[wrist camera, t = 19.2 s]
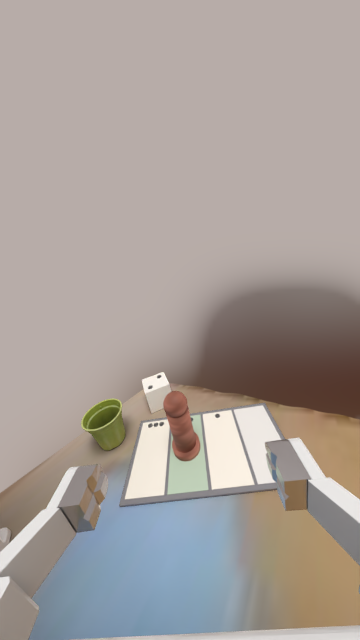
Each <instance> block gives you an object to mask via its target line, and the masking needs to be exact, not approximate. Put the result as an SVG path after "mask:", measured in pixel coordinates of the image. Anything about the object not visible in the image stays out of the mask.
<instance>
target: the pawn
mask: <svg viewBox="0 0 360 640" xmlns="http://www.w3.org/2000/svg"><path fill="white" fill-rule="evenodd" d="M163 407H164V410H165V412H166V416H167V419H168V422H169V426H170V429H171V433H172V436H173V441H172V448H173V451H174V454H175V456H176V458H177V459H179V460H181V461H191V460H193V459H194V458H195V457H196V456H197V455H198V454H199V451H200V441H199V437H198V435H197V434H196V433H195V432H194V430H193V426H192V421H191V417H190V413H189V409H188V406H187V399H186V397H185V396H184V394H183V393H181V392H179V391H172V392H170V393H168V394H167V395H166V397H165V399H164V402H163Z"/></svg>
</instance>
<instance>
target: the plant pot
mask: <svg viewBox="0 0 360 640" xmlns="http://www.w3.org/2000/svg"><path fill="white" fill-rule="evenodd" d="M121 413H122V403H121V401H120V400H118V399H107V400H104V401H101V402H99V403H98V404H96V405H94V406H93V407H92V408H90V409H89V410H88V411H87V413H86V414H85V415H84V417H83V419H82V421H81V426H82V428H83V429H84V430H85V431H88V432H89V433H91V434H92V436H93V437H94V438H95V440H96V441H97V442H98V444H99V445H100V446H101V447H102V449H104V450H111V449H113V448H115V447H117V446H119V445H120V444H121V443H122V441H123V440H124V438H125V429H124V424H123V419H122V414H121Z"/></svg>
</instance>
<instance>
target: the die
mask: <svg viewBox="0 0 360 640" xmlns="http://www.w3.org/2000/svg"><path fill="white" fill-rule="evenodd" d="M142 383H143V387H144V391H145V395H146V398H147V401H148V404H149V407H150V410H151V414H152V413H154V412H156V411H159V410H161V409H163V408H164V407H163V402H164V399H165V397H166V395H167V394H168V393H170V392H171V389H170V385H169V383H168V380H167V378H166V376H165V374H164V372H162V373H159V374H157V375H154V376H151V377H148V378H146V379H143V380H142Z"/></svg>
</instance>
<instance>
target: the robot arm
mask: <svg viewBox="0 0 360 640" xmlns="http://www.w3.org/2000/svg"><path fill="white" fill-rule="evenodd" d="M265 448H266V451H267V453H266V460H267V464H268V468H269V471H270V474H271V476H272V479H273V480H274V481H275V482H276V483H277V490H278V494H279V496H280V498H281V501H282V503H283V506H284V508H285V511H292V510H307V509H308V512H309V513H310V514H311V515H312V516H313V517H314V518H315V519H316V520H317V521H318V522H319V523H320V524H321V526H322V527H323V528H324V529H325V530H326V531H327V532H328V533H329V534H330V535H331V536H332V537H333V538H334V539H335V540H336V541H337V542H338V543H339V544H340V545H341V547H342V548H343V549H344V550H345V551H346V552H347V553H348V554H349V555H350V556H351V557H352V558H353V559H354V560H355V561H356V562H357V563H358V564H359V565H360V499H358V498H357V497H356V496H354V495H353V494H352V493H350V492H349V491H348V490H346V489H345V488H343V487H342V486H341V485H339V484H338V483H337V482H335V481H334V480H333V479H331V478H326V477H325V475H324V474H323V472H322V471H321V469H320V468H319V466H318V465H317V463H316V462H315V460H314V459H313V457H312V455H311V454H310V452H309V451H308V449H307V448H306V446H305V445H304V443H303V442H302V440H301V439H300V438H292V439H282V440H276V441H269V442H265ZM102 469H103V468H102V466H101V464H96V465H88V466H78V467H70V468H69V469H68V470H67V472H66V473H65V475H64V477H63V479H62V480H61V482H60V484H59V486H58V488H57V490H56V491H55V493H54V495H53V497H52V499H51V500H50V502H49V504H48V506H47V508H46V509H44V510H42V511H41V512H40V513H39V514H38V515H37V516H36V517H35V518H34V519H33V520H32V521H31V522H30V523H29V524H28V525H27V526H26V527H25V528H24V529H23V530H22V531H21V532H20V533H19V534H18V535H17V536H16V537H15V538H14V539H13V540H12V541H11V542H10V543H9V541H10V536H11V530H10V529H8V528H7V527H4V528H1V529H0V640H28V639H29V636H30V634H31V631H32V629H33V626H34V624H35V621H36V619H37V616H38V614H39V606H38V605H37V604H36V603H35V602H34V601H33V600H32V599H31V598H32V597H33V595H34V594H35V593H36V591H37V590H38V588H39V587H40V585H41V584H42V583H43V581H44V580H45V578H46V577H47V575H48V574H49V573H50V571H51V570H52V568H53V567H54V565H55V564H56V563H57V561H58V560H59V558H60V557H61V555H62V554H63V553H64V551H65V550H66V548H67V547H68V545H69V544H70V542H71V541H72V540H73V538H74V537H75V535H76V533H77V532H84V531H91V530H95V527H96V524H97V521H98V517H99V514H100V511H101V509H100V504H101V502H102V501H103V500H104V499H105V496H106V493H107V488H108V479H107V476H106V474H104V473H103V472H102ZM359 593H360V586H359ZM71 640H360V625H355V626H334V627H314V628H294V629H274V630H253V631H233V632H213V633H193V634H173V635H152V636H132V637H112V638H92V639H71Z"/></svg>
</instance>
